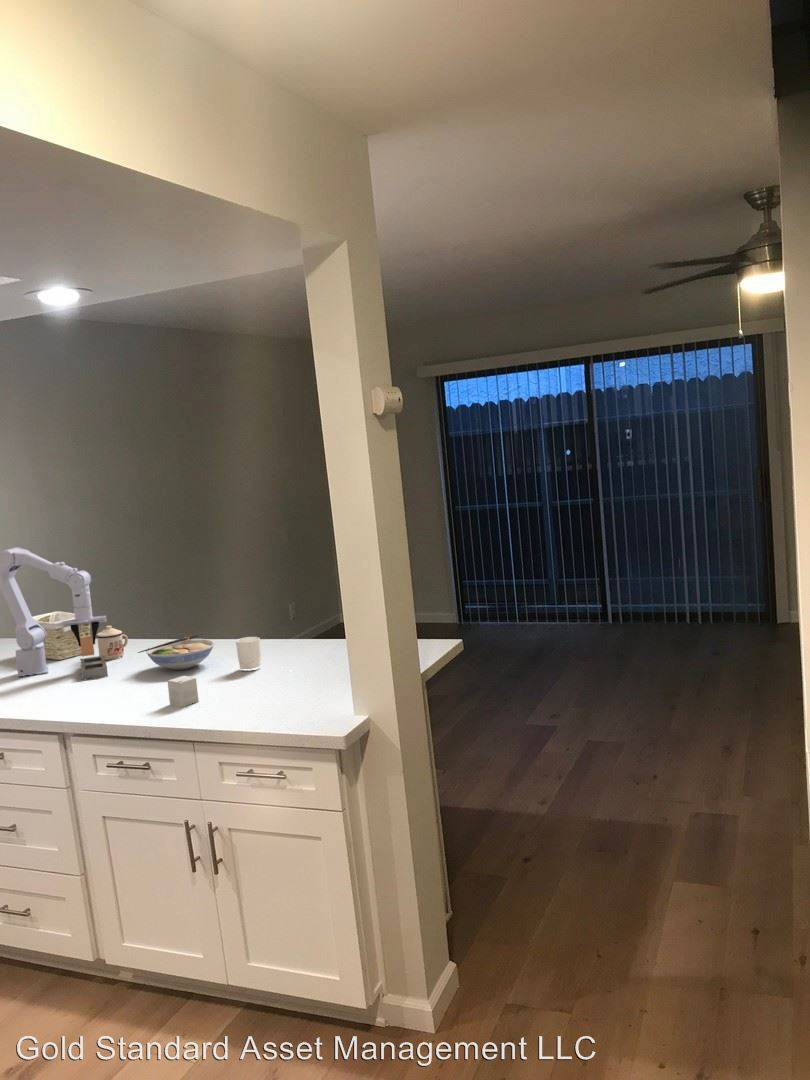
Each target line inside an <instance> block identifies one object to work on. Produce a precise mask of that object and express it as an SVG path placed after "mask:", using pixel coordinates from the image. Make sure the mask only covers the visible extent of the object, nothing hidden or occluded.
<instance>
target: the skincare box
mask: <svg viewBox="0 0 810 1080" xmlns="http://www.w3.org/2000/svg"><path fill="white" fill-rule="evenodd" d="M197 683H198V682H197V677H192V676H188V675H181V676H178V677H175V678H171V679H168V680H167V691H168V698H169V705H171V706H176V707H179V706H180V708H184V707H188V706H189V705H193V704H195V702H196V703H198V702H200V701H199V692H198V684H197ZM192 703H193V704H192Z"/></svg>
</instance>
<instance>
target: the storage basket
mask: <svg viewBox="0 0 810 1080" xmlns="http://www.w3.org/2000/svg"><path fill="white" fill-rule="evenodd" d="M32 618H33V619H35V620H36V621H38V622H39V624H40V626H41V627H42V628H43V629H44V630H45V632H46V639H45V641H44V651H45V659H46V660H55V661H58V660H65V659H68V658H69V659H70V658H73V657H78V656H80V655H81V656H82V651H81V646H80V647H79V644H78V641H77V639H76V637H75V635H74V633H73V632H72V630H71V626H69V627H64V628H62V621H67V620H72V619H75V613H74V612H67V611H66V612H65V611H59V610H57V611H53V612H48V613H42V614H38V615H34V616H32ZM78 627H79V636H80V637H86V636H91V632H90V630H91V624H84V625H78Z"/></svg>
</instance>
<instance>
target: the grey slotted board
mask: <svg viewBox="0 0 810 1080" xmlns="http://www.w3.org/2000/svg"><path fill="white" fill-rule="evenodd" d="M80 668H81V676H82V681H85V680H84V679H86V680H90V679H91V680H92V678H93V679H98V677H99V678H104V677H103V676H106V677H109V674H108V666H107V660H105V656H99V655H98V656H97V655H96V656H92V657H83V658H80Z"/></svg>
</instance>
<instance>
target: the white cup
mask: <svg viewBox="0 0 810 1080" xmlns="http://www.w3.org/2000/svg"><path fill="white" fill-rule="evenodd" d="M235 646H236V647H235V648H236V653H237V660H238V664H239V670H240V669H252V668H256V667H259V666H260V665H261V660H262V659H261V657H262V656H261V655H262V654H261V638H260V637H258V636H246V637H241V638H237V639H235Z"/></svg>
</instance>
